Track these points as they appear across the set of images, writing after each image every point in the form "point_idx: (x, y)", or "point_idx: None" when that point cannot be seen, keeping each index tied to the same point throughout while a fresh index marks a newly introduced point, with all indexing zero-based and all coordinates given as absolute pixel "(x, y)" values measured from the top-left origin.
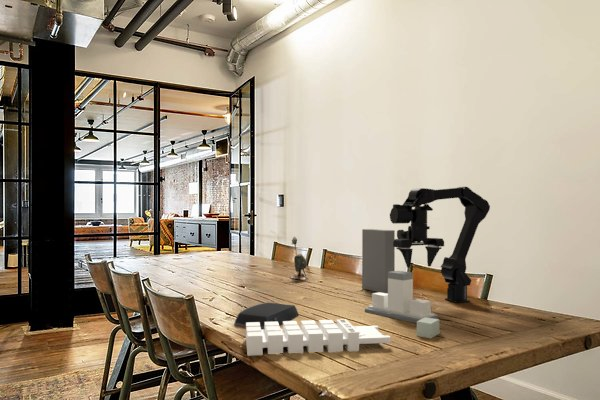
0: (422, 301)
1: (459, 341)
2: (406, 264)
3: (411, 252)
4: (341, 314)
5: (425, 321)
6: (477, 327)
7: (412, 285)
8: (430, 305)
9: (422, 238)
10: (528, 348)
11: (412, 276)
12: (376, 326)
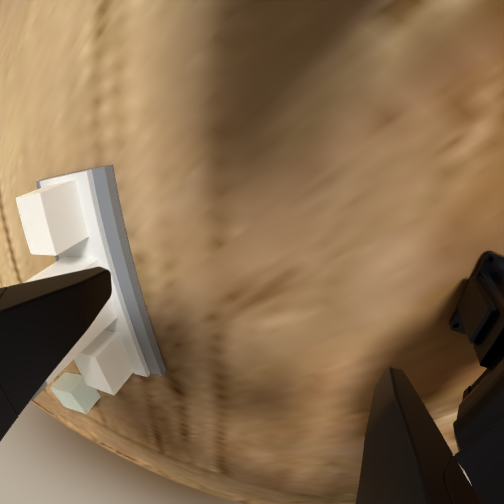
0: (93, 379)
1: (106, 422)
2: (74, 277)
3: (3, 425)
4: (2, 170)
5: (61, 398)
6: (189, 439)
7: (62, 368)
8: (119, 387)
9: None
10: (168, 477)
11: (40, 390)
12: None
